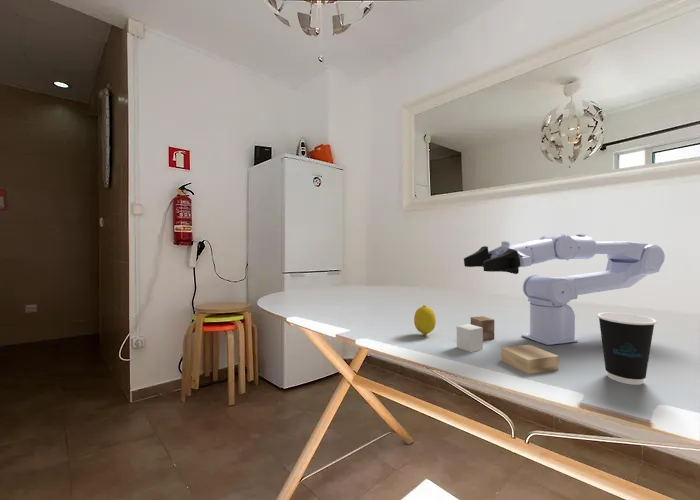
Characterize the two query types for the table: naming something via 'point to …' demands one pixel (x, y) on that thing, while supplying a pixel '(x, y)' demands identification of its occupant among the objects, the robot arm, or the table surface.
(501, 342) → the table surface
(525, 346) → the oak slab
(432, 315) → the lemon
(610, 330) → the dixie cup
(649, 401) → the table surface
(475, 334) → the grey block
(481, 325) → the walnut block
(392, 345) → the table surface
